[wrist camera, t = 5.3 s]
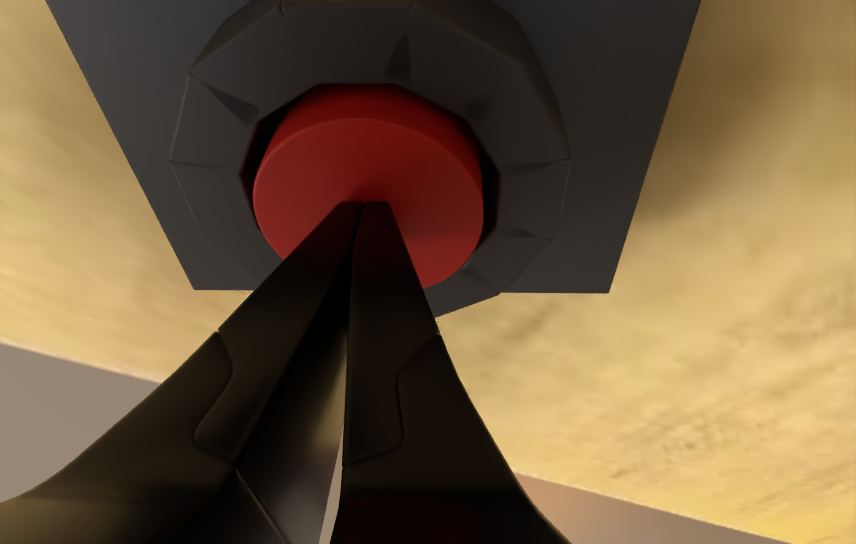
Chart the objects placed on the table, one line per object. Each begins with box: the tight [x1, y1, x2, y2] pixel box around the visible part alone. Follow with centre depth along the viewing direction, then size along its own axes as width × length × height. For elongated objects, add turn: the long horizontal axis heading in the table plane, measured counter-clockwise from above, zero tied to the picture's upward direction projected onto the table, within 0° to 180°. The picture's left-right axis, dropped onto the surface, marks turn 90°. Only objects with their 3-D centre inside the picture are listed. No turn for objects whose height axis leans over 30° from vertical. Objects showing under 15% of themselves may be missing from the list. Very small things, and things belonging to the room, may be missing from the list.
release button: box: [253, 83, 484, 289], centre depth 10 cm, size 4×4×2 cm
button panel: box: [46, 0, 701, 318], centre depth 11 cm, size 11×9×4 cm
